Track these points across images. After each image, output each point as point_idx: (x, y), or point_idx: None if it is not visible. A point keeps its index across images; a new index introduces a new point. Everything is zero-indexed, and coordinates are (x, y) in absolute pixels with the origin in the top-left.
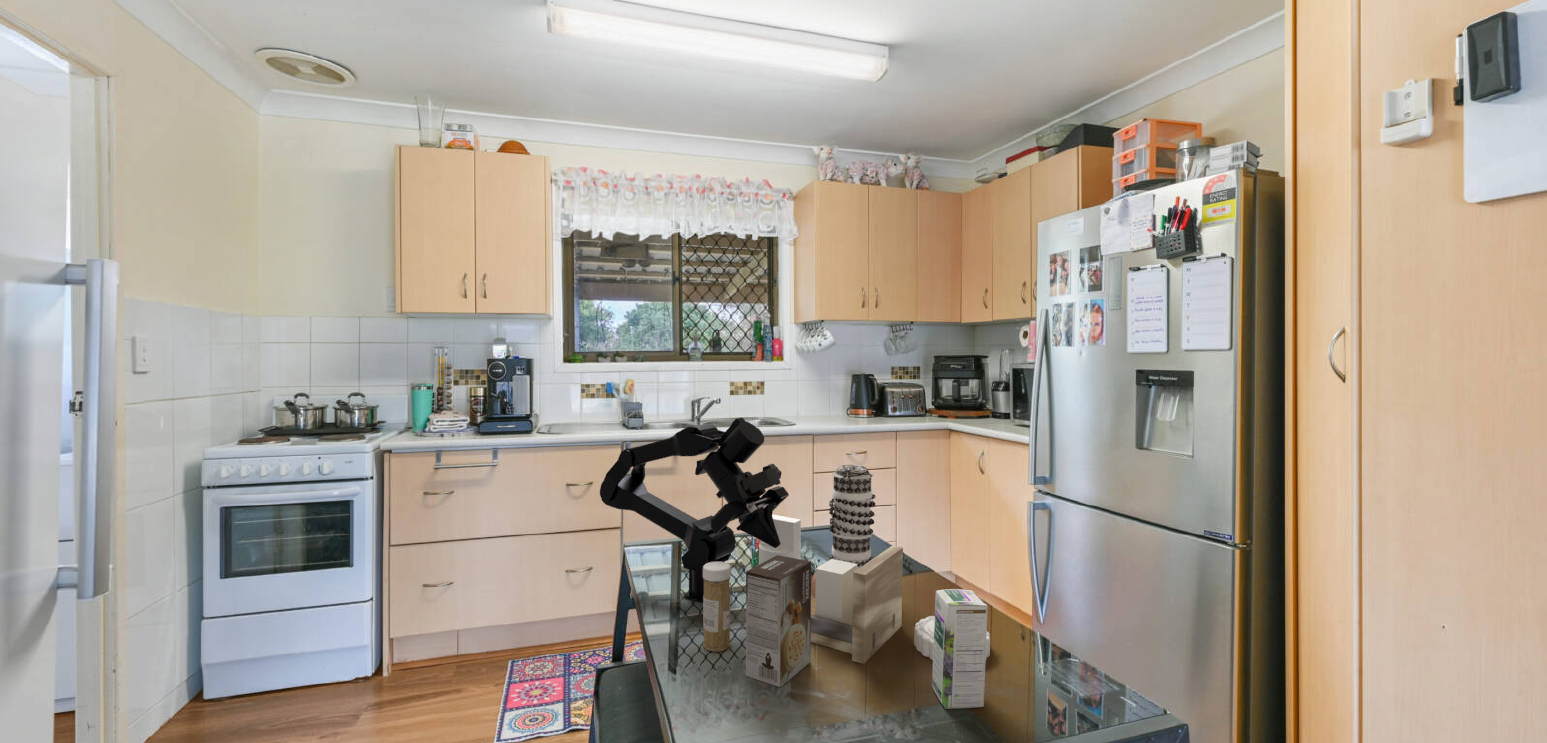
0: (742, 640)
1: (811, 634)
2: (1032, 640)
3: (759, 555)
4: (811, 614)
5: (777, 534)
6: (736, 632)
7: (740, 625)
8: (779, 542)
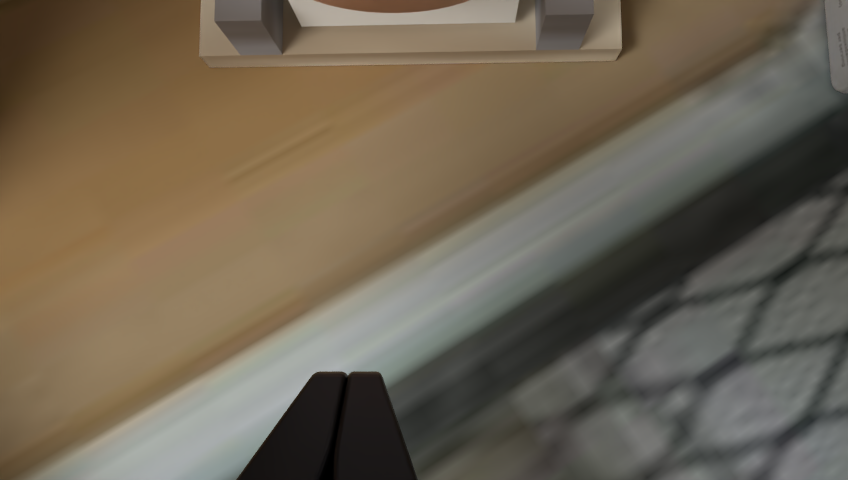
0: (829, 346)
1: (600, 2)
2: None
3: None
4: (545, 2)
5: (252, 468)
6: (765, 440)
7: (670, 477)
8: (323, 384)
